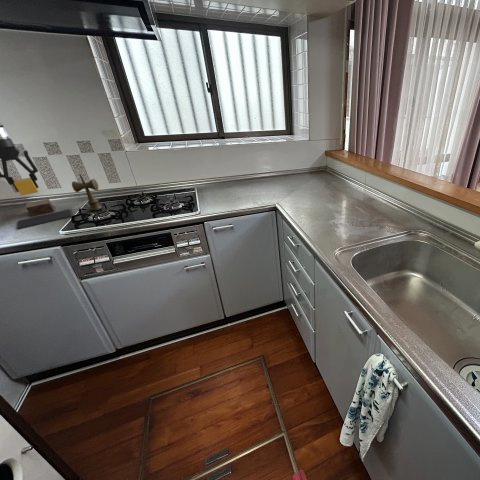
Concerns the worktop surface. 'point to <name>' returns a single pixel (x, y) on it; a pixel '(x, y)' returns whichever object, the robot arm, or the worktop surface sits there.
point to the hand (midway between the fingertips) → (28, 189)
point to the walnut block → (39, 207)
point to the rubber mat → (43, 219)
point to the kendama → (88, 192)
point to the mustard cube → (25, 186)
